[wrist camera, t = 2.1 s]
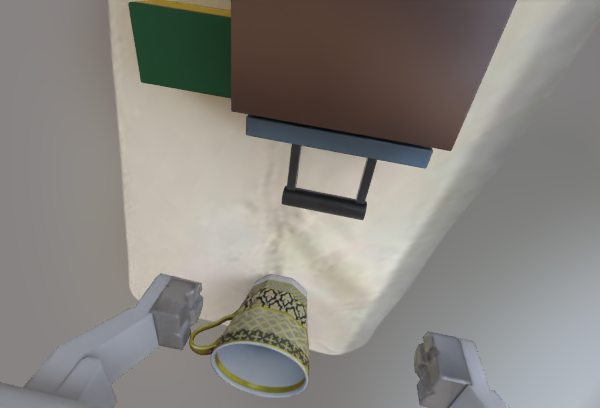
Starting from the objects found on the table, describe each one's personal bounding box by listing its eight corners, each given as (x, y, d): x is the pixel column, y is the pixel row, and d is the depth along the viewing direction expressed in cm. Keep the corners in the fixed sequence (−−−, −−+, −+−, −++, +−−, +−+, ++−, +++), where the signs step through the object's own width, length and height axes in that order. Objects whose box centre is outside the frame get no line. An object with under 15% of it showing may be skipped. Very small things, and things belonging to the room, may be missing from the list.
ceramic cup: (326, 273, 37) (315, 356, 29) (314, 325, 43) (302, 406, 35) (216, 251, 38) (175, 326, 30) (219, 305, 44) (186, 379, 36)
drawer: (391, 186, 28) (397, 241, 22) (268, 162, 29) (243, 210, 23) (495, -121, 17) (563, -174, 11) (291, -146, 18) (253, -209, 12)
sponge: (158, -1, 24) (127, 2, 21) (256, 14, 23) (240, 20, 20) (166, 70, 27) (140, 82, 24) (254, 85, 26) (239, 100, 23)
